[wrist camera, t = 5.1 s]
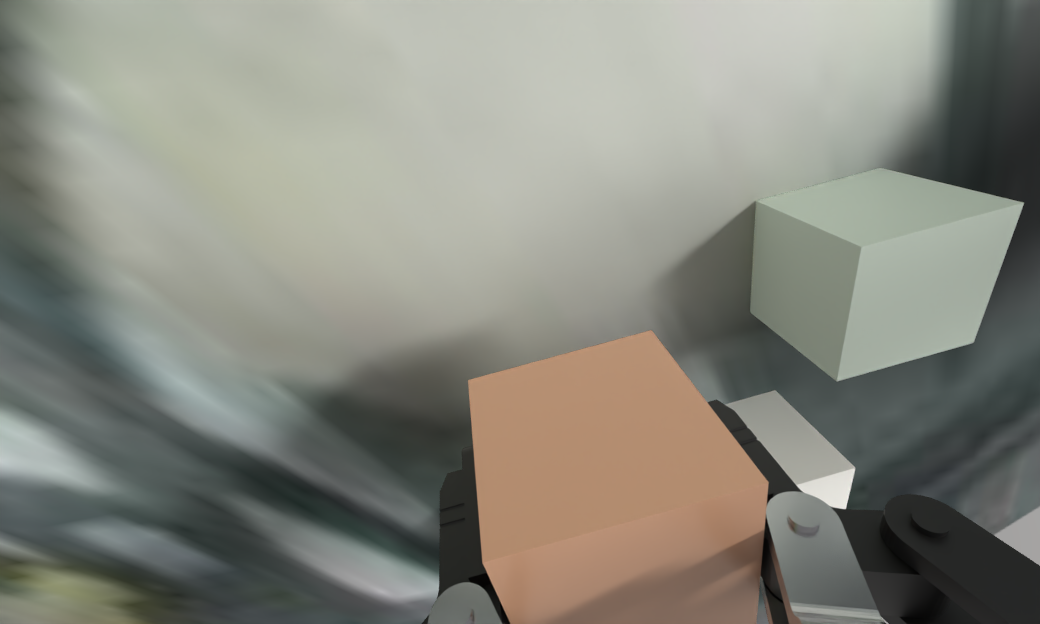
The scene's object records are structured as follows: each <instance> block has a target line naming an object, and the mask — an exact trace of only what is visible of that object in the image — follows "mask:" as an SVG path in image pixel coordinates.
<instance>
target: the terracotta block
mask: <svg viewBox="0 0 1040 624" xmlns="http://www.w3.org/2000/svg"><path fill="white" fill-rule="evenodd" d="M468 386H469V399H470V412H471V424H472V437H473V449H474V462H475V475H476V487H477V500H478V513H479V525H480V538H481V550H482V563H483V565H484V567H485V569H486V571H487V574H488V576H489V578H490V580H491V582H492V585H493V587H494V589H495V591H496V593H497V595H498V598H499V600H500V602H501V604H502V606H503V608H504V611H505V613H506V615H507V617H508V619H509V622H510V624H756V621H757V609H758V598H759V587H760V575H761V564H762V552H763V541H764V529H765V518H766V507H767V495H768V484H769V482H768V481H767V480H766V478H765V477H764V476H763V475H762V473H761V472H760V471H759V469H758V468H757V467H756V465H755V464H754V463H753V461H752V460H751V459H750V458H749V456H748V455H747V454H746V452H745V451H744V450H743V448H742V447H741V446H740V445H739V443H738V442H737V441H736V439H735V438H734V437H733V435H732V434H731V433H730V432H729V430H728V429H727V428H726V426H725V425H724V424H723V422H722V421H721V420H720V419H719V417H718V416H717V415H716V413H715V412H714V411H713V409H712V408H711V407H710V405H709V404H708V403H707V402H706V400H705V399H704V398H703V396H702V395H701V394H700V392H699V391H698V390H697V389H696V387H695V386H694V385H693V383H692V382H691V381H690V379H689V378H688V377H687V376H686V374H685V373H684V372H683V370H682V369H681V368H680V366H679V365H678V364H677V362H676V361H675V360H674V359H673V357H672V356H671V355H670V353H669V352H668V351H667V349H666V348H665V347H664V346H663V344H662V343H661V342H660V340H659V339H658V338H657V336H656V335H655V334H654V333H653V331H652V330H650V331H646V332H642V333H639V334H635V335H631V336H628V337H624V338H620V339H617V340H613V341H609V342H606V343H602V344H598V345H595V346H591V347H587V348H584V349H580V350H576V351H573V352H569V353H565V354H562V355H558V356H554V357H551V358H547V359H543V360H540V361H536V362H532V363H529V364H525V365H521V366H518V367H514V368H510V369H507V370H503V371H499V372H496V373H492V374H488V375H485V376H481V377H477V378H474V379H470V380H468Z"/></svg>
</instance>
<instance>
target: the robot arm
mask: <svg viewBox="0 0 1040 624" xmlns="http://www.w3.org/2000/svg"><path fill="white" fill-rule="evenodd" d="M707 403H708V404H709V405H710V407H711V408H712V409H713V411H714V412H715V413H716V415H717V416H718V417H719V419H720V420H721V421H722V422H723V424H724V425H725V426H726V428H727V429H728V430H729V432H730V433H731V434H732V435H733V437H734V438H735V439H736V441H737V442H738V443H739V445H740V446H741V447H742V448H743V450H744V451H745V452H746V454H747V455H748V456H749V458H750V459H751V460H752V461H753V463H754V464H755V465H756V467H757V468H758V469H759V471H760V472H761V473H762V475H763V476H764V477H765V478H766V480H767V481H768V482H769V484H768V495H767V507H766V518H765V529H764V541H763V552H762V564H761V575H760V586H761V591H762V595H763V600H764V604H765V608H766V613H767V617H768V622H769V624H886V623H885V622H884V621H883V619H885V620H886V621H887V622H888V623H889V624H1040V566H1039V565H1038V564H1036V563H1034V562H1033V561H1032V560H1030V559H1029V558H1027V557H1026V556H1024V555H1023V554H1021V553H1019V552H1018V551H1016V550H1015V549H1014V548H1012V547H1010V546H1009V545H1007V544H1006V543H1004V542H1003V541H1001V540H1000V539H998V538H997V537H995V536H994V535H992V534H991V533H989V532H988V531H986V530H985V529H983V528H982V527H980V526H979V525H977V524H976V523H974V522H973V521H971V520H970V519H968V518H966V517H965V516H963V515H962V514H960V513H959V512H957V511H956V510H954V509H953V508H951V507H949V506H948V505H946V504H944V503H942V502H940V501H938V500H935V499H932V498H929V497H925V496H921V495H911V494H907V495H900V496H896V497H894V498H892V499H891V500H890V501H888V503H887V504H886V506H885V510H884V511H878V510H849V509H839V508H834V507H831V506H829V505H828V504H826V503H825V502H824V501H822V500H820V499H819V498H817V497H814V496H812V495H809V494H806V493H804V492H802V491H801V490H800V489H799V488H798V487H797V486H796V484H795V483H794V482H793V481H792V480H791V478H790V477H789V476H788V475H787V474H786V472H785V471H784V470H783V469H782V467H781V466H780V465H779V464H778V463H777V461H776V460H775V459H774V458H773V457H772V455H771V454H770V453H769V452H768V451H767V449H766V448H765V447H764V446H763V445H762V443H761V442H760V441H758V440H757V437H756V436H755V435H754V434H753V432H752V431H751V430H750V429H749V428H747V425H746V424H745V423H744V422H743V420H742V419H741V418H740V417H739V415H738V414H737V413H736V412H735V411H734V410H733V409H731V408H729V407H728V406H726V405H724V404H723V403H721V402H719V401H718V400H714V401H710V402H707ZM462 468H463V469H462V470H458V471H455V472H451V473H448V474H447V476H446V478H445V481H444V483H443V485H442V488H441V490H440V569H439V593H438V597H437V600H436V601H435V603H434V605H433V607H432V609H431V611H430V614H429V615H428V617H427V618H426V619H425V620H424V622H423V623H422V624H510V622H509V619H508V617H507V615H506V613H505V611H504V608H503V606H502V604H501V602H500V600H499V598H498V595H497V593H496V591H495V589H494V587H493V585H492V582H491V580H490V578H489V576H488V574H487V571H486V569H485V567H484V565H483V563H482V550H481V538H480V525H479V513H478V500H477V487H476V475H475V462H474V449H473V446H470V447H467V448H463V449H462ZM881 617H882V618H883V619H882V618H881Z"/></svg>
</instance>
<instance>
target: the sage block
mask: <svg viewBox="0 0 1040 624" xmlns="http://www.w3.org/2000/svg"><path fill="white" fill-rule="evenodd" d="M1023 205H1024V203H1023V202H1019V201H1015V200H1011V199H1007V198H1003V197H998V196H994V195H990V194H986V193H982V192H978V191H974V190H970V189H965V188H961V187H957V186H953V185H949V184H945V183H941V182H937V181H932V180H928V179H924V178H920V177H916V176H912V175H908V174H904V173H899V172H895V171H891V170H887V169H883V168H877V169H874V170H870V171H866V172H862V173H859V174H855V175H851V176H847V177H843V178H840V179H836V180H832V181H828V182H825V183H821V184H817V185H813V186H810V187H806V188H802V189H798V190H794V191H791V192H787V193H783V194H779V195H776V196H772V197H768V198H764V199H761V200H757V201H756V209H755V227H754V246H753V265H752V283H751V302H750V313H752V314H753V315H754V316H755V317H757V318H758V319H759V320H760V321H762V322H763V323H764V324H765V325H767V326H768V327H769V328H770V329H772V330H773V331H774V332H775V333H777V334H778V335H779V336H780V337H782V338H783V339H784V340H785V341H787V342H788V343H789V344H790V345H792V346H793V347H794V348H795V349H797V350H798V351H799V352H800V353H802V354H803V355H804V356H805V357H807V358H808V359H809V360H810V361H812V362H813V363H814V364H815V365H817V366H818V367H819V368H820V369H822V370H823V371H824V372H825V373H827V374H828V375H829V376H830V377H832V378H833V379H834V380H835V381H840V380H844V379H847V378H851V377H854V376H858V375H861V374H865V373H868V372H872V371H875V370H879V369H883V368H886V367H890V366H893V365H897V364H900V363H904V362H907V361H911V360H914V359H918V358H921V357H925V356H928V355H932V354H935V353H939V352H942V351H946V350H950V349H953V348H957V347H960V346H964V345H967V344H971V343H974V340H975V337H976V335H977V332H978V329H979V326H980V324H981V321H982V318H983V315H984V312H985V310H986V307H987V304H988V301H989V299H990V296H991V293H992V290H993V288H994V285H995V282H996V279H997V277H998V274H999V271H1000V268H1001V266H1002V263H1003V260H1004V257H1005V255H1006V252H1007V249H1008V246H1009V244H1010V241H1011V238H1012V235H1013V232H1014V230H1015V227H1016V224H1017V221H1018V219H1019V216H1020V213H1021V210H1022V208H1023Z"/></svg>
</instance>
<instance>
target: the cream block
mask: <svg viewBox="0 0 1040 624" xmlns="http://www.w3.org/2000/svg"><path fill="white" fill-rule="evenodd" d="M725 405H726V406H728V407H729V408H731V409H733V410H734V411H735V412H736V413H737V414H738V415H739V417H740V418H741V419H742V420H743V422H744V423H745V424H746V425H747V428H749V429H750V430H751V431H752V432H753V434H754V435H755V436H756V437H757V440H758V441H760V442H761V443H762V445H763V446H764V447H765V448H766V449H767V451H768V452H769V453H770V454H771V455H772V457H773V458H774V459H775V460H776V461H777V463H778V464H779V465H780V466H781V467H782V469H783V470H784V471H785V472H786V474H787V475H788V476H789V477H790V478H791V480H792V481H793V482H794V483H795V484H796V486H797V487H798V488H799V489H800V490H801V491H802V492H804V493H806V494H809V495H812V496H814V497H817V498H819V499H820V500H822V501H824V502H825V503H826V504H828V505H829V506H831V507H834V508H839V509H846V506H847V501H848V497H849V493H850V489H851V484H852V480H853V476H854V472H855V467H854V466H853V465H852V464H851V463H850V462H849V461H848V460H847V459H846V458H845V457H844V456H843V455H842V454H841V453H840V452H839V451H837V450H836V449H835V448H834V447H833V446H832V445H831V444H830V443H829V442H828V441H827V440H826V439H825V438H824V437H823V436H822V435H821V434H820V433H819V432H818V431H817V430H816V429H815V428H814V427H813V426H812V425H811V424H810V423H809V422H807V421H806V420H805V419H804V418H803V417H802V416H801V415H800V414H799V413H798V412H797V411H796V410H795V409H794V408H793V407H792V406H791V405H790V404H789V403H788V402H787V401H786V400H785V399H784V398H783V397H782V396H781V395H780V394H779V393H778V392H776V391H775V390H774V391H771V392H767V393H763V394H760V395H756V396H753V397H749V398H746V399H742V400H739V401H735V402H732V403H728V404H725Z"/></svg>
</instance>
